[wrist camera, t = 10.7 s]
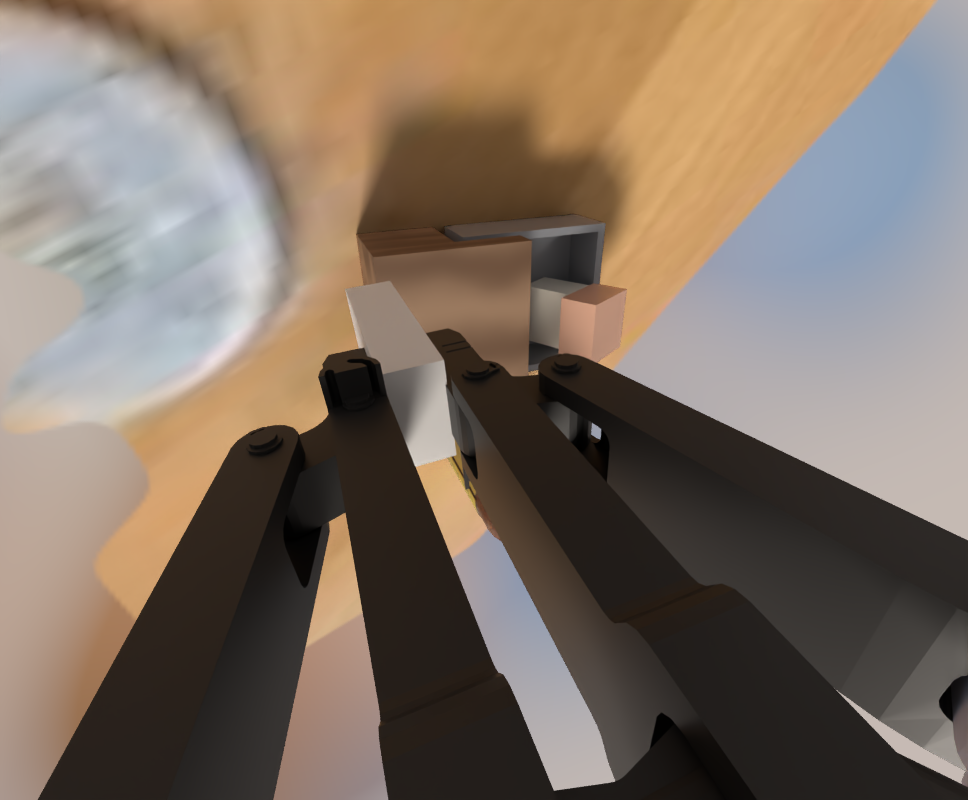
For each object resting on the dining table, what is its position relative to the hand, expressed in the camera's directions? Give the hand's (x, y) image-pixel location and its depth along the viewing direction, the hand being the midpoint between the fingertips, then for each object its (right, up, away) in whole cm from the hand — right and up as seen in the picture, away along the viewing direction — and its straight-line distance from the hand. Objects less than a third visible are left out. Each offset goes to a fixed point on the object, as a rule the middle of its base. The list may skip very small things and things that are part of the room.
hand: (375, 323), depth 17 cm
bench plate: (-1, +5, +25) cm, 26 cm away
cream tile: (+9, +4, +25) cm, 27 cm away
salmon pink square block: (+11, +4, +24) cm, 26 cm away
